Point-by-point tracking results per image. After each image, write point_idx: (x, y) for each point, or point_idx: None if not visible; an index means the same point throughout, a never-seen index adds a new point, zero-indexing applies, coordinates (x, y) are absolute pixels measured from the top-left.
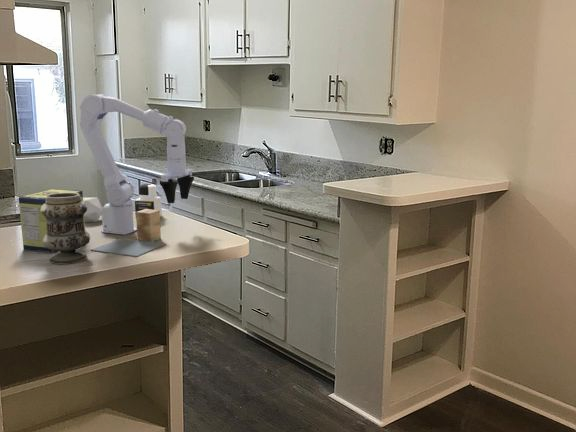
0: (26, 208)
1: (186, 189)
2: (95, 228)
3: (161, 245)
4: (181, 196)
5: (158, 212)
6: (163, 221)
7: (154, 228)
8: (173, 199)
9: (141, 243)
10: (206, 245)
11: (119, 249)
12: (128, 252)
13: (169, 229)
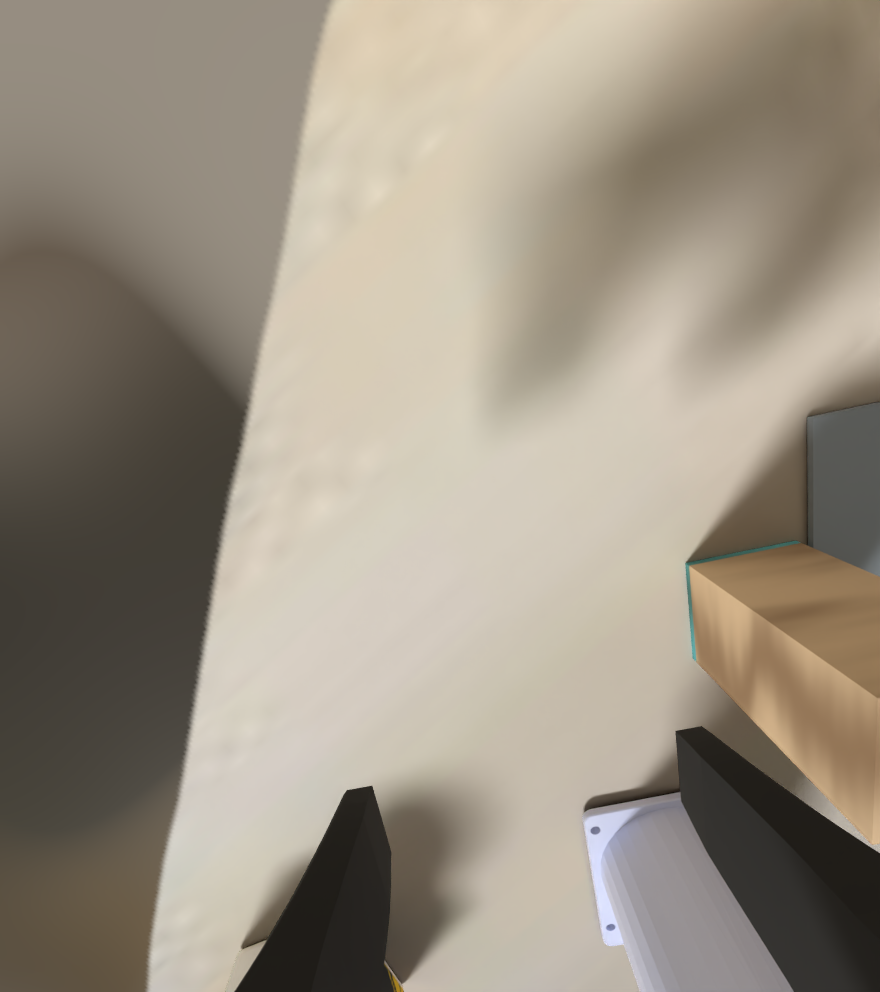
0: None
1: (338, 955)
2: None
3: (865, 405)
4: (387, 880)
5: (876, 679)
6: None
7: (824, 588)
8: (746, 760)
9: (874, 552)
10: (690, 119)
11: None
12: None
13: (467, 685)
